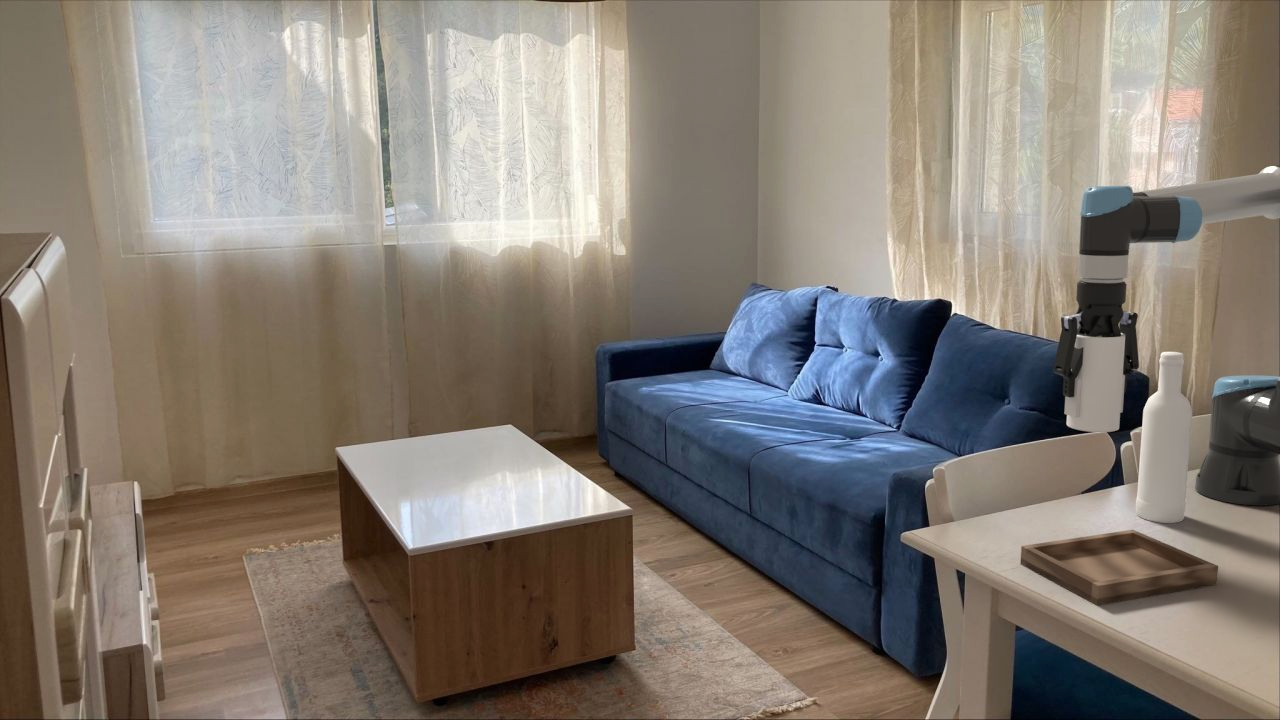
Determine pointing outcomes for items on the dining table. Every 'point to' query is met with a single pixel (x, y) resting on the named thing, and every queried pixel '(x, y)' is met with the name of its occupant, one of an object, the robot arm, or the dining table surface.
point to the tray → (1118, 566)
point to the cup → (1100, 383)
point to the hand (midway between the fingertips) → (1093, 413)
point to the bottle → (1165, 446)
